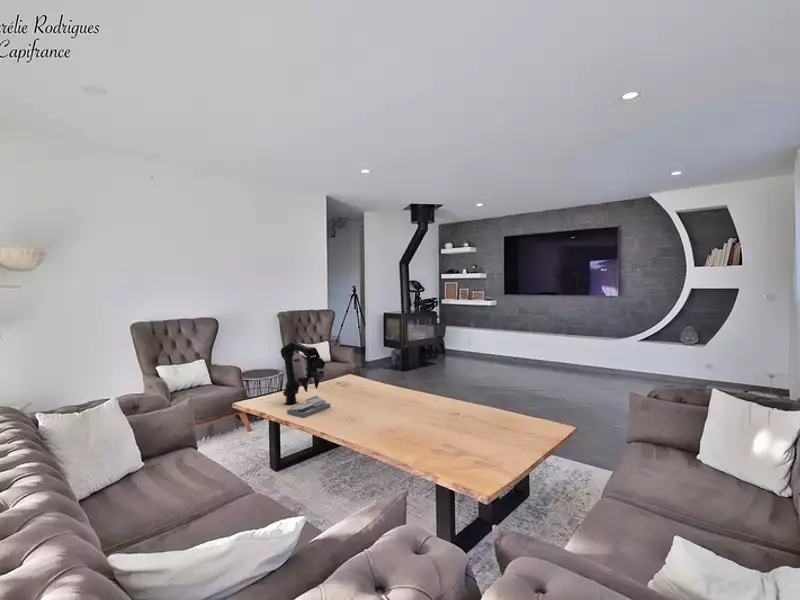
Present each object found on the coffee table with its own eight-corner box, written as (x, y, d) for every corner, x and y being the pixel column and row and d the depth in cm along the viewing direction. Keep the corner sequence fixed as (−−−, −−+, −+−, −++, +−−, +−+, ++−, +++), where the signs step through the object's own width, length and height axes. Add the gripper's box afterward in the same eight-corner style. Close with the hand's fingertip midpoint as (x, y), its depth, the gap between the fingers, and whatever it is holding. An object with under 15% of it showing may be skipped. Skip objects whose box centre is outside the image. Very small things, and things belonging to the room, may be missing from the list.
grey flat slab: (291, 410, 257) (291, 407, 257) (303, 405, 265) (302, 403, 265) (301, 409, 252) (301, 406, 252) (313, 404, 260) (312, 402, 261)
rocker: (305, 401, 267) (305, 399, 267) (315, 398, 275) (316, 395, 275) (314, 406, 262) (315, 404, 262) (325, 402, 271) (325, 400, 271)
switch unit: (287, 414, 258) (286, 408, 258) (314, 404, 278) (313, 399, 278) (304, 418, 250) (303, 412, 250) (330, 407, 270) (330, 402, 270)
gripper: (310, 371, 254) (310, 395, 255) (330, 365, 270) (330, 388, 271) (297, 369, 260) (297, 392, 261) (317, 363, 276) (317, 386, 277)
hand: (311, 390), depth 267 cm, fingers open, 9 cm apart
